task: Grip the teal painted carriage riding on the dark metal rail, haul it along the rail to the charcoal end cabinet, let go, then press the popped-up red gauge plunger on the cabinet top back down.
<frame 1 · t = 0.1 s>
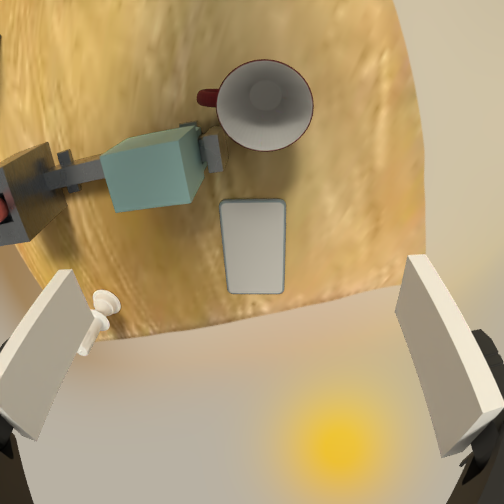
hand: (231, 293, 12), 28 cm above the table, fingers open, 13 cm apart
rail: (125, 158, 37), on the table
carriage: (158, 163, 32), point 6 cm above the table, slide at 0.0 cm
smartphone: (254, 247, 44), on the table
candle: (107, 300, 51), on the table
mug: (254, 95, 33), on the table
end cabinet: (40, 178, 39), on the table
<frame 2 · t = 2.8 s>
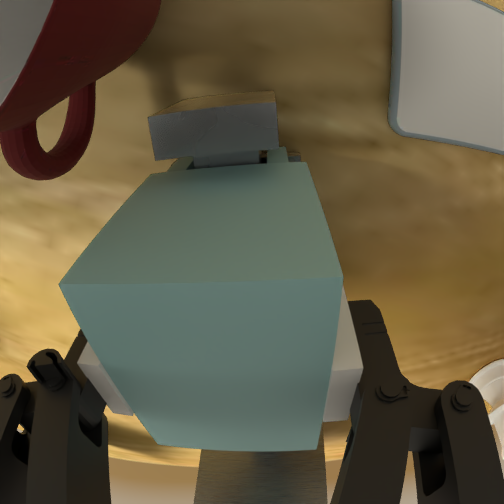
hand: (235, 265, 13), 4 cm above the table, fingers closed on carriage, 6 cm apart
rail: (252, 314, 20), on the table
carriage: (231, 289, 12), point 6 cm above the table, slide at 0.0 cm, touching gripper
smartphone: (503, 82, 12), on the table
candle: (487, 373, 25), on the table
mug: (117, 37, 12), on the table
end cabinet: (265, 423, 28), on the table
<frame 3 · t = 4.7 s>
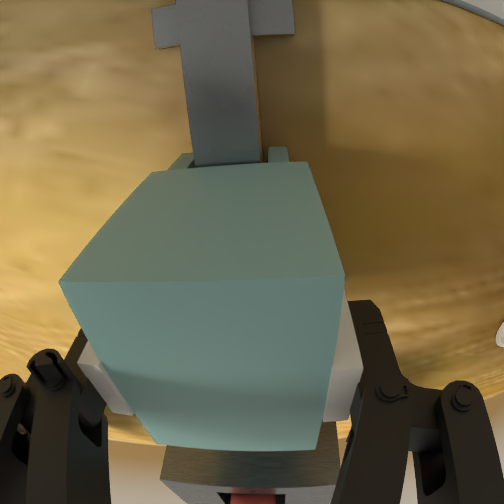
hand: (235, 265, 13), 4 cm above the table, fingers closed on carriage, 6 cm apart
rail: (240, 201, 16), on the table
carriage: (231, 289, 12), point 6 cm above the table, slide at 7.6 cm, touching gripper
end cabinet: (259, 381, 24), on the table
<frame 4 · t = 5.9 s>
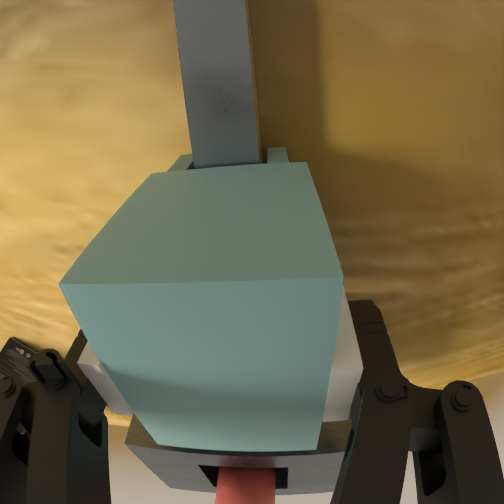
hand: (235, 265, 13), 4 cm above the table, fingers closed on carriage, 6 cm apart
rail: (228, 95, 13), on the table
carriage: (231, 289, 12), point 6 cm above the table, slide at 12.9 cm, touching gripper
gauge plunger: (245, 501, 12), point 11 cm above the table, slide at 0.0 cm
box: (34, 365, 27), on the table
end cabinet: (255, 336, 21), on the table
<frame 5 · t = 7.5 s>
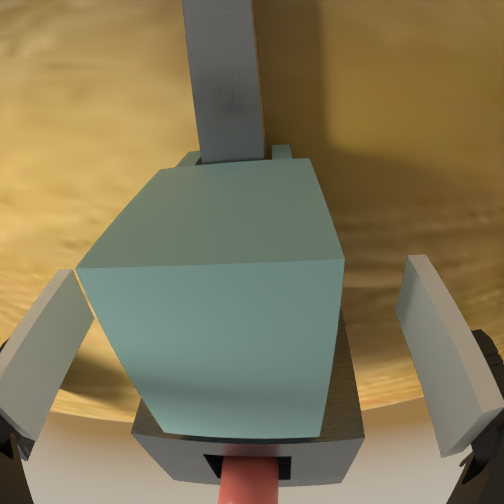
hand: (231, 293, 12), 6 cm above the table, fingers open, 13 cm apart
rail: (234, 94, 14), on the table
carriage: (237, 280, 13), point 5 cm above the table, slide at 12.9 cm
gauge plunger: (248, 491, 12), point 11 cm above the table, slide at 0.0 cm
box: (38, 361, 28), on the table
end cabinet: (258, 330, 22), on the table
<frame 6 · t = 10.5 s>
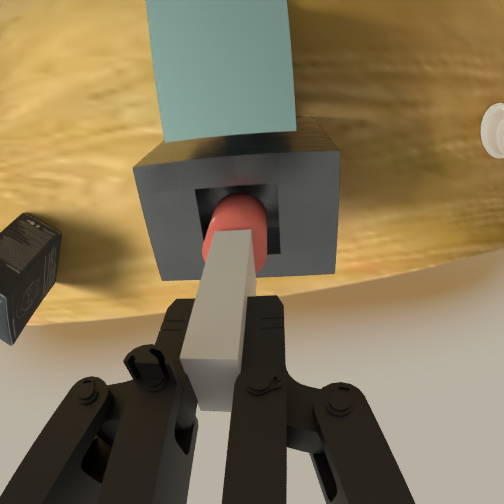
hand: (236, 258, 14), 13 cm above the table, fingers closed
carriage: (231, 52, 16), point 5 cm above the table, slide at 12.9 cm
gauge plunger: (237, 233, 16), point 11 cm above the table, slide at 0.1 cm, touching gripper
candle: (499, 130, 21), on the table
box: (40, 248, 31), on the table
end cabinet: (249, 163, 25), on the table
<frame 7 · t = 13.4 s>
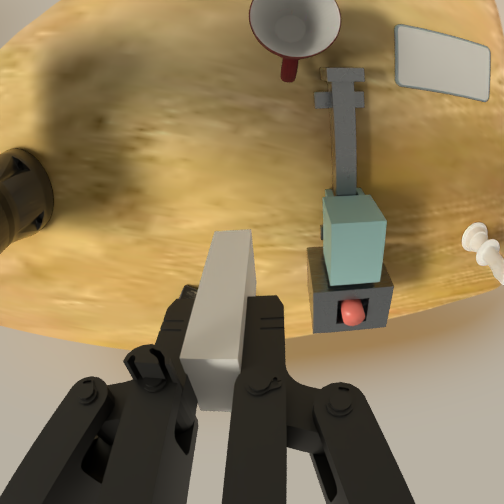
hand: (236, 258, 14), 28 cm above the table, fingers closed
rail: (341, 168, 39), on the table
carriage: (349, 233, 38), point 5 cm above the table, slide at 12.9 cm
smartphone: (444, 63, 31), on the table
gauge plunger: (351, 308, 39), point 9 cm above the table, slide at 1.8 cm
candle: (473, 235, 43), on the table
mug: (290, 38, 31), on the table
end cabinet: (340, 265, 47), on the table
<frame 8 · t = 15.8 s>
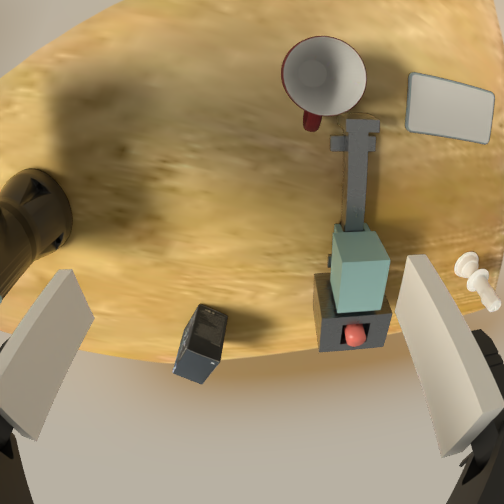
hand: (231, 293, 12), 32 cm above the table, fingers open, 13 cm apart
rail: (350, 205, 44), on the table
carriage: (355, 266, 43), point 5 cm above the table, slide at 12.9 cm
smartphone: (451, 108, 35), on the table
gauge plunger: (354, 331, 44), point 9 cm above the table, slide at 1.8 cm
candle: (465, 263, 48), on the table
box: (205, 321, 58), on the table
mug: (311, 82, 35), on the table
end cabinet: (343, 289, 52), on the table
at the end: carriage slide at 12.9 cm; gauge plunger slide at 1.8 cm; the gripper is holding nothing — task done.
